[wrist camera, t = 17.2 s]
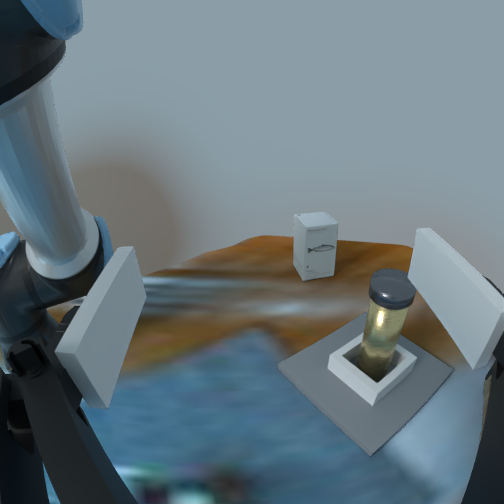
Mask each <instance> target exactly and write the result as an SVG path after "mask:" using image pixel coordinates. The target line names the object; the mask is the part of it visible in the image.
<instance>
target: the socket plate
mask: <svg viewBox="0 0 504 504" xmlns="http://www.w3.org/2000/svg"><path fill="white" fill-rule="evenodd" d="M367 315H368V313H367V312H365V313H363V314H362V315H360V316H359V317H357V318H356V319H354V320H352V321H351V322H349V323H348V324H346V325H344V326H343V327H341V328H339V329H338V330H336V331H335V332H333V333H331V334H330V335H328V336H326V337H325V338H323V339H321V340H319V341H318V342H316V343H314V344H313V345H311V346H309V347H307V348H306V349H304V350H302V351H300V352H299V353H297V354H295V355H293V356H291V357H290V358H288V359H286V360H284V361H282V362H280V363H279V364H278V369H279V370H280V371H281V372H282V373H283V374H284V375H285V376H286V377H287V378H288V379H289V380H290V381H291V382H292V383H293V384H294V385H295V386H296V387H297V388H298V389H299V390H300V391H301V392H302V393H303V394H304V395H305V396H306V397H307V398H308V399H309V400H310V401H311V402H312V403H313V404H314V405H315V406H316V407H318V408H319V409H320V410H321V411H322V412H323V413H324V414H325V415H326V416H327V417H328V418H329V419H330V420H331V421H332V422H333V423H334V424H336V425H337V426H338V427H339V428H340V429H341V430H342V431H343V432H344V433H345V434H346V435H347V436H349V437H350V438H351V439H352V440H353V441H354V442H355V443H356V444H357V445H359V446H360V447H361V448H362V449H363V450H364V451H365V452H366V453H368V454H369V455H370V456H372V455H373V454H374V453H375V452H377V451H378V450H379V449H380V448H381V447H382V446H383V445H384V444H385V443H387V442H388V441H389V440H390V439H391V438H392V437H393V436H394V435H395V434H396V433H397V432H398V431H399V430H400V429H401V428H402V427H403V426H404V425H405V424H406V423H407V422H408V421H409V420H410V419H411V418H412V417H413V416H414V415H415V414H416V413H417V412H418V411H419V410H420V409H421V408H422V407H423V406H424V405H425V403H426V402H427V401H428V400H429V399H430V398H431V397H432V396H433V394H434V393H435V392H436V391H437V390H438V389H439V388H440V386H441V385H442V384H443V383H444V382H445V380H446V379H447V378H448V377H449V376H450V374H451V373H452V371H453V369H452V368H450V367H449V366H447V365H446V364H444V363H443V362H441V361H440V360H438V359H437V358H435V357H434V356H432V355H431V354H429V353H428V352H426V351H425V350H423V349H422V348H420V347H419V346H417V345H416V344H414V343H413V342H411V341H410V340H408V339H406V338H405V337H403V336H402V335H400V337H399V340H398V343H397V346H396V349H395V352H394V355H393V358H392V361H391V364H390V366H389V369H388V372H387V375H386V376H385V377H384V378H383V379H382V380H381V381H380V382H378V383H376V382H375V381H373V380H372V379H371V378H369V377H368V376H367V375H366V374H364V373H363V372H362V371H360V370H359V369H358V368H357V367H355V366H356V363H357V359H358V355H359V350H360V346H361V342H362V338H363V333H364V329H365V324H366V320H367Z"/></svg>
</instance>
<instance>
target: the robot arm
mask: <svg viewBox="0 0 504 504" xmlns="http://www.w3.org/2000/svg"><path fill="white" fill-rule="evenodd" d="M82 27H83V13H82V2H81V0H0V201H1V203H2V204H3V206H4V208H5V209H6V211H7V213H8V214H9V216H10V217H11V219H12V220H13V222H14V224H15V225H16V227H17V228H18V230H19V231H20V233H21V234H22V236H23V237H24V240H21V241H20V238H19V236H18V235H17V233H15V232H11V233H6V234H3V235H1V236H0V348H1V352H2V356H3V359H4V363H5V366H6V368H7V370H8V372H9V373H10V374H5V373H4V372H3V370H2V369H1V367H0V504H49V499H48V494H47V489H46V483H45V477H44V470H43V463H44V466H45V469H46V471H47V474H48V476H49V478H50V481H51V483H52V485H53V488H54V490H55V492H56V494H57V497H58V499H59V501H60V503H61V504H138V503H137V501H136V500H135V498H134V497H133V495H132V494H131V493H130V491H129V490H128V488H127V487H126V485H125V484H124V482H123V481H122V479H121V478H120V476H119V474H118V473H117V471H116V470H115V468H114V466H113V465H112V463H111V461H110V460H109V458H108V456H107V455H106V453H105V451H104V450H103V448H102V446H101V444H100V442H99V441H98V439H97V437H96V435H95V433H94V431H93V429H92V427H91V426H90V424H89V422H88V420H87V418H86V416H85V414H84V412H83V410H82V408H81V407H80V406H79V405H80V403H81V400H82V397H83V398H84V400H85V401H86V403H87V404H88V406H89V407H94V408H102V409H108V408H109V405H110V401H111V398H112V395H113V392H114V388H115V385H116V382H117V379H118V376H119V373H120V370H121V367H122V364H123V361H124V358H125V355H126V352H127V349H128V346H129V343H130V341H131V338H132V335H133V332H134V329H135V327H136V324H137V321H138V319H139V316H140V313H141V310H142V308H143V305H144V303H145V300H146V297H147V296H146V292H145V288H144V285H143V281H142V277H141V273H140V270H139V266H138V262H137V258H136V254H135V249H134V246H127V247H118V249H117V250H116V252H115V253H114V255H113V249H112V244H111V239H110V235H109V231H108V228H107V225H106V222H105V220H104V219H103V218H102V217H100V216H98V217H95V216H92V215H91V214H90V213H89V212H87V211H86V210H85V209H83V208H81V207H80V205H79V202H78V198H77V195H76V192H75V188H74V185H73V181H72V178H71V174H70V170H69V167H68V163H67V159H66V155H65V151H64V147H63V143H62V139H61V134H60V130H59V125H58V120H57V115H56V110H55V104H54V98H53V93H52V86H51V80H50V76H51V75H52V74H53V73H54V72H55V70H56V69H57V68H58V67H59V65H60V64H61V63H62V61H63V59H64V57H65V53H66V46H65V40H68V39H70V38H71V37H72V36H74V35H76V34H77V33H79V32H80V31H81V30H82ZM408 279H409V280H410V281H411V283H412V284H413V285H414V286H415V288H416V289H417V290H418V292H419V293H420V294H421V296H422V297H423V298H424V300H425V301H426V302H427V304H428V305H429V306H430V308H431V309H432V310H433V312H434V313H435V315H436V316H437V317H438V319H439V320H440V322H441V323H442V324H443V326H444V327H445V329H446V330H447V332H448V333H449V334H450V336H451V337H452V339H453V340H454V342H455V343H456V345H457V346H458V348H459V349H460V351H461V352H462V354H463V355H464V357H465V358H466V360H467V362H468V363H469V365H470V366H471V368H472V369H473V370H474V369H477V368H479V367H482V366H485V365H486V364H487V362H488V361H489V359H490V357H491V355H492V354H493V355H494V356H495V358H496V360H495V362H494V364H493V365H492V367H491V369H490V370H489V372H488V374H487V375H486V378H485V380H487V379H488V378H489V376H490V375H492V377H491V380H490V381H491V385H490V393H489V399H488V405H487V411H486V417H485V422H484V427H483V431H482V436H481V440H480V444H479V448H478V452H477V456H476V460H475V463H474V467H473V470H472V473H471V477H470V480H469V483H468V486H467V489H466V492H465V494H464V497H463V500H462V503H461V504H504V294H502V292H501V291H500V290H499V289H498V288H497V287H496V286H495V285H494V284H493V283H492V282H491V281H490V280H489V279H488V278H486V277H484V276H483V275H481V274H480V273H479V272H478V271H477V270H476V269H475V268H474V267H473V266H472V265H471V264H470V263H469V262H467V261H466V260H465V259H464V258H463V257H462V256H461V255H460V254H459V253H458V252H457V251H455V250H454V249H453V248H452V247H451V246H450V245H449V244H448V243H447V242H446V241H444V240H443V239H442V238H441V237H440V236H439V235H437V234H436V233H435V232H434V231H433V230H432V229H430V228H417V232H416V238H415V243H414V249H413V254H412V259H411V263H410V268H409V273H408ZM83 296H86V298H85V299H84V301H83V303H82V304H81V306H74V307H73V308H72V309H71V310H69V311H68V312H67V313H66V314H65V316H64V317H63V319H62V321H61V322H60V324H59V323H58V322H57V321H56V320H55V319H54V318H53V317H52V316H51V315H50V314H49V313H48V311H47V309H46V308H48V307H51V306H55V305H57V304H61V303H64V302H67V301H71V300H74V299H77V298H80V297H83ZM42 461H43V462H42Z"/></svg>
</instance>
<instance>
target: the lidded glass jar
mask: <svg viewBox="0 0 504 504" xmlns="http://www.w3.org/2000/svg"><path fill="white" fill-rule="evenodd" d="M415 293H416V288H415V286H414V285H413V284H412V283H411V281H410V280H409V279H408V273H406V272H404V271H401V270H397V269H381V270H378V271H376V272H374V273H373V275H372V276H371V282H370V288H369V296H370V298H371V300H370V305H369V310H368V315H367V320H366V324H365V329H364V333H363V338H362V342H361V346H360V350H359V355H358V359H357V363H356V366H355V367H357V368H358V369H359V370H360V371H362V372H363V373H364V374H366V375H367V376H368V377H369V378H371V379H372V380H373V381H375V382H376V383H378V382H380V381H381V380H382V379H383V378H384V377H385V376H386V375H387V372H388V369H389V366H390V364H391V361H392V358H393V355H394V352H395V349H396V346H397V343H398V340H399V337H400V334H401V330H402V327H403V324H404V321H405V317H406V314H407V310H408V307H409V306H410V305H411V304H412V303H413V300H414V296H415Z"/></svg>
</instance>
